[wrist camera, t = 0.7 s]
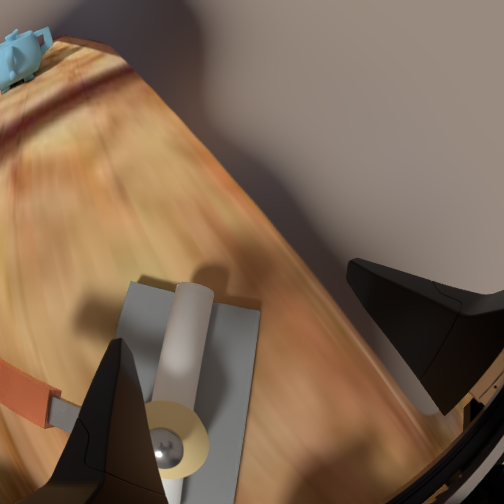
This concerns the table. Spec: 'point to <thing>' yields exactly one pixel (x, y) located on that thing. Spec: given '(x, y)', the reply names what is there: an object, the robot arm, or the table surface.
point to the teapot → (21, 56)
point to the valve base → (211, 382)
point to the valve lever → (69, 411)
